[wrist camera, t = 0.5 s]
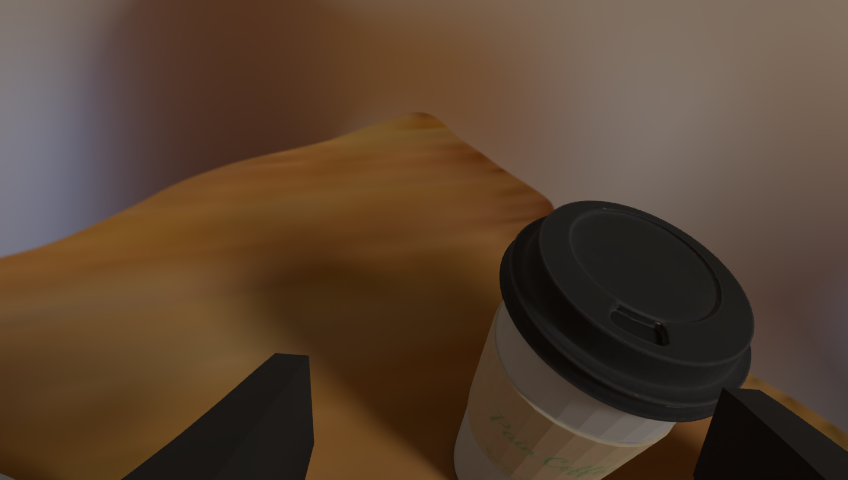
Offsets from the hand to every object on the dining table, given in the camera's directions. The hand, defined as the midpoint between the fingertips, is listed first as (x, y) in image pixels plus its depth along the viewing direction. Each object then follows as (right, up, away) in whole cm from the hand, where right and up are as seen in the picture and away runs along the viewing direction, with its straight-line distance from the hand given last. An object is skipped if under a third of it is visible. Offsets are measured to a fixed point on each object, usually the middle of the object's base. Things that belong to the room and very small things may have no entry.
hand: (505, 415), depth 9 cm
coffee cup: (+3, -9, +19) cm, 21 cm away
